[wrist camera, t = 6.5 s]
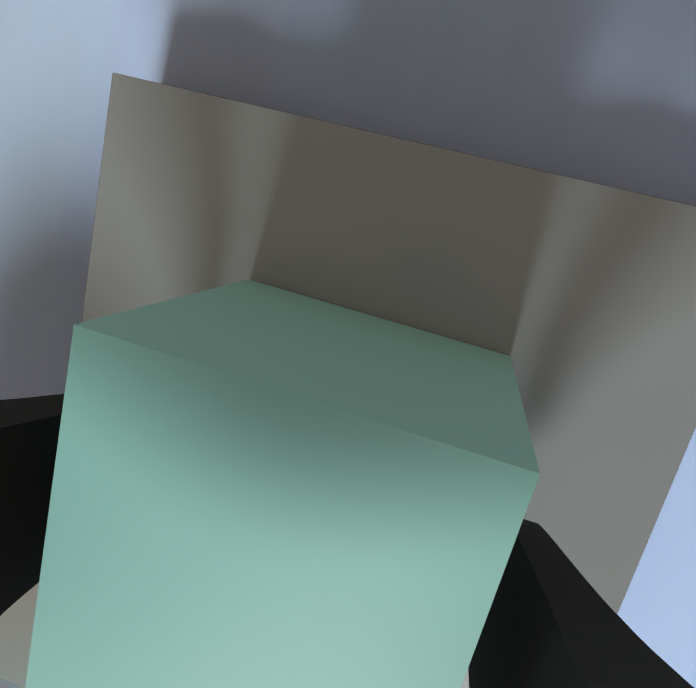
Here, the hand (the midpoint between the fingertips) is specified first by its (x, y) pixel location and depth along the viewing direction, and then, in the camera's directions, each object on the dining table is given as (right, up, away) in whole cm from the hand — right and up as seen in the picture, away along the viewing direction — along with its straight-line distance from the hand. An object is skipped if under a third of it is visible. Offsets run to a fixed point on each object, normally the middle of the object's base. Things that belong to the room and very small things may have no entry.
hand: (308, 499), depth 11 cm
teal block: (+1, +1, +2) cm, 3 cm away
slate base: (+1, +1, +4) cm, 5 cm away
